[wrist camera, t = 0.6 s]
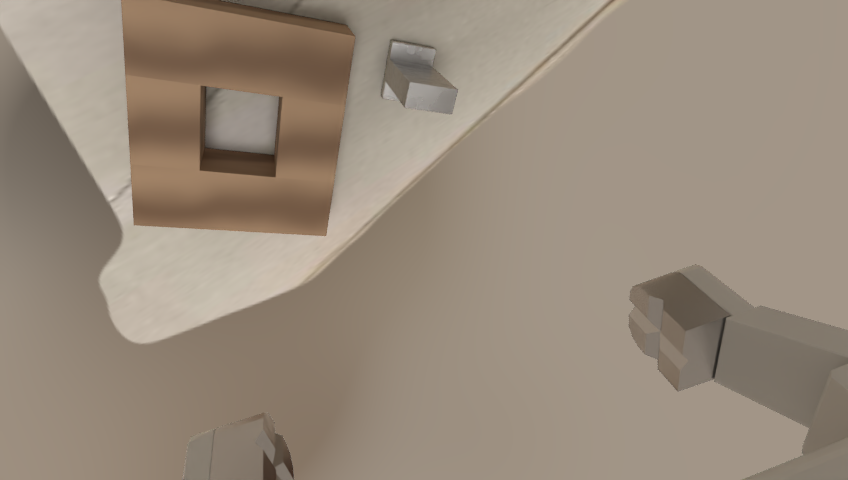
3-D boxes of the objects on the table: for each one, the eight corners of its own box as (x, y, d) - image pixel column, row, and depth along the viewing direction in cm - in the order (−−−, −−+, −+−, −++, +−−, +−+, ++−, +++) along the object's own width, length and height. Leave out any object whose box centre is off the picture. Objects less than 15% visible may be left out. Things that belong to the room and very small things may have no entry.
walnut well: (135, -16, 39) (120, -8, 35) (346, 25, 44) (355, 36, 40) (144, 198, 47) (134, 225, 43) (321, 210, 53) (326, 235, 49)
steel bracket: (390, 39, 46) (414, 62, 39) (432, 47, 47) (462, 70, 40) (380, 95, 48) (401, 125, 41) (421, 101, 50) (447, 132, 43)
